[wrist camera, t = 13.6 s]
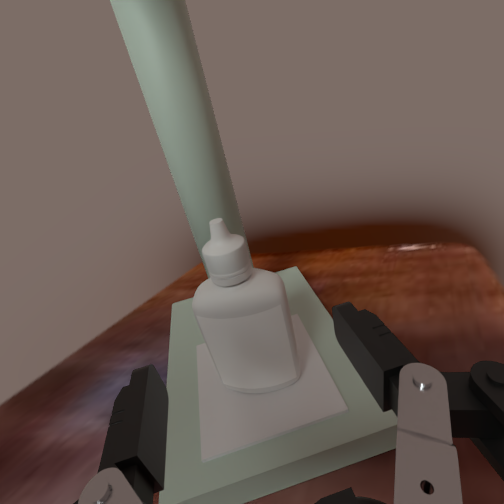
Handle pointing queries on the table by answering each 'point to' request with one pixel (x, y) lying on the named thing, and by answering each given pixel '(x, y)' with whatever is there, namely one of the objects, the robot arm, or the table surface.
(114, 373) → the table surface
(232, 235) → the eye dropper bottle
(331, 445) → the arbor press
